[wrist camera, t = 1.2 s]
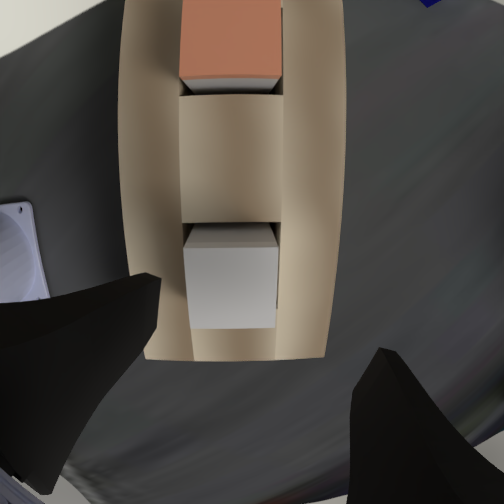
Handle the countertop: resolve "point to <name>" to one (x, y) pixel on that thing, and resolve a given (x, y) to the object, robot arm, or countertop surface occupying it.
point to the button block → (235, 174)
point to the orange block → (230, 46)
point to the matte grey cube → (231, 275)
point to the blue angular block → (429, 2)
